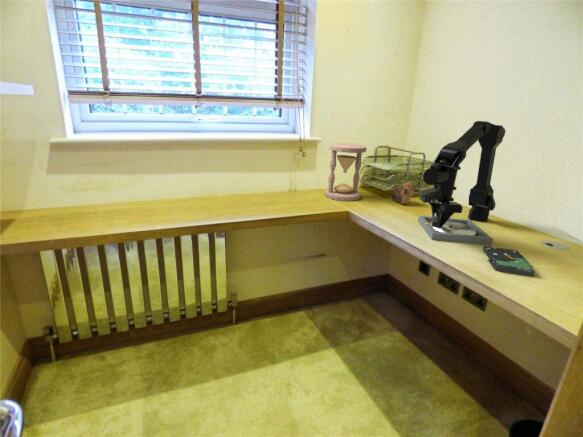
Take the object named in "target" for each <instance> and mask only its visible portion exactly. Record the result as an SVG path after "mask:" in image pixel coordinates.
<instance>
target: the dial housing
mask: <svg viewBox="0 0 583 437" xmlns="http://www.w3.org/2000/svg"><path fill="white" fill-rule="evenodd" d="M448 220H449V221H455V222H460V223H463V224H466V225H469V226H471V227H473V228H474V229H475V230H476V231H477V232H476V236H472V235H461V234H449V233H438V232H435V230H434V229H433V228H432V227H431V226H430V222H431V221H433V219H432V216H427V215H426V216H425V215H418V217H417V222H418V223H419V225H420V226H421V228H422V229H423V230H424V232H425V233H426V234H427V235H428V237H429V238H430V239H431V241H442V242H443V241H444V242H451V243H452V242H453V243H462V244H463V243H464V244H473V245H474V244H475V245H476V244H477V245H483V246H492V244H493V237H492V236H490V235H489V234H488V233H486V231H484V230H483V229H482V228H481V227H479V226H478V225H477V224H476V223H474V221H472V220H470V219H463V218H462V219H461V218H451V217H450V218H449V219H448Z"/></svg>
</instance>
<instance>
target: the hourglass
mask: <svg viewBox="0 0 583 437" xmlns="http://www.w3.org/2000/svg"><path fill="white" fill-rule="evenodd" d="M328 150H330V151H331V158H330V162H329V163H330V164H329V168H330V173H329V175H328V187H327V188H326V189H325V190H324V196H325V197H326V198H328V199H331V200H334V201H340V202H355V201H358V200H360V199H361V192H359V191H358V187H359V186H358V185H359V183H360V182H359V181H360V169H361V166H362V154H363V153H367V146H366V145H362V144H356V143H355V144H354V143H348V142H347V143H346V142H345V143H343V142H342V143H341V142H340V143H339V142H333V143H329V146H328ZM338 152H339V153H348V154H356V156H354V155H347V154H345V155H344V154H338V155H337V153H338ZM337 161H338V162H339V164H340V166H341V168H342V170H343V171H342V172H343V173H344V174H347V173H348V170H349V169H350V167H351V166H352V165H353V163H354V169H355V172H354V175H353V178H352V182H353V184H352V186H350V185H348V184H346V183H343V182H342V183H340V184H336V185H335V184H334V183H335V179H336V175H335V169H336V167H337Z"/></svg>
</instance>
